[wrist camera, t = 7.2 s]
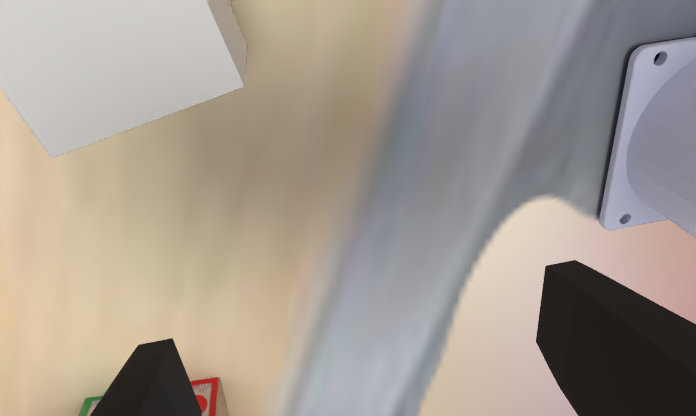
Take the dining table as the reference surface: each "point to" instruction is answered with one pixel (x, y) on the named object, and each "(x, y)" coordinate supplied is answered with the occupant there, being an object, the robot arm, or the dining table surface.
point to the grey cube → (114, 63)
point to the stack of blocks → (205, 392)
